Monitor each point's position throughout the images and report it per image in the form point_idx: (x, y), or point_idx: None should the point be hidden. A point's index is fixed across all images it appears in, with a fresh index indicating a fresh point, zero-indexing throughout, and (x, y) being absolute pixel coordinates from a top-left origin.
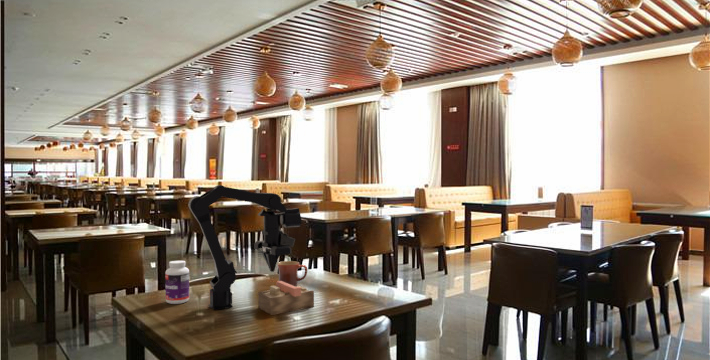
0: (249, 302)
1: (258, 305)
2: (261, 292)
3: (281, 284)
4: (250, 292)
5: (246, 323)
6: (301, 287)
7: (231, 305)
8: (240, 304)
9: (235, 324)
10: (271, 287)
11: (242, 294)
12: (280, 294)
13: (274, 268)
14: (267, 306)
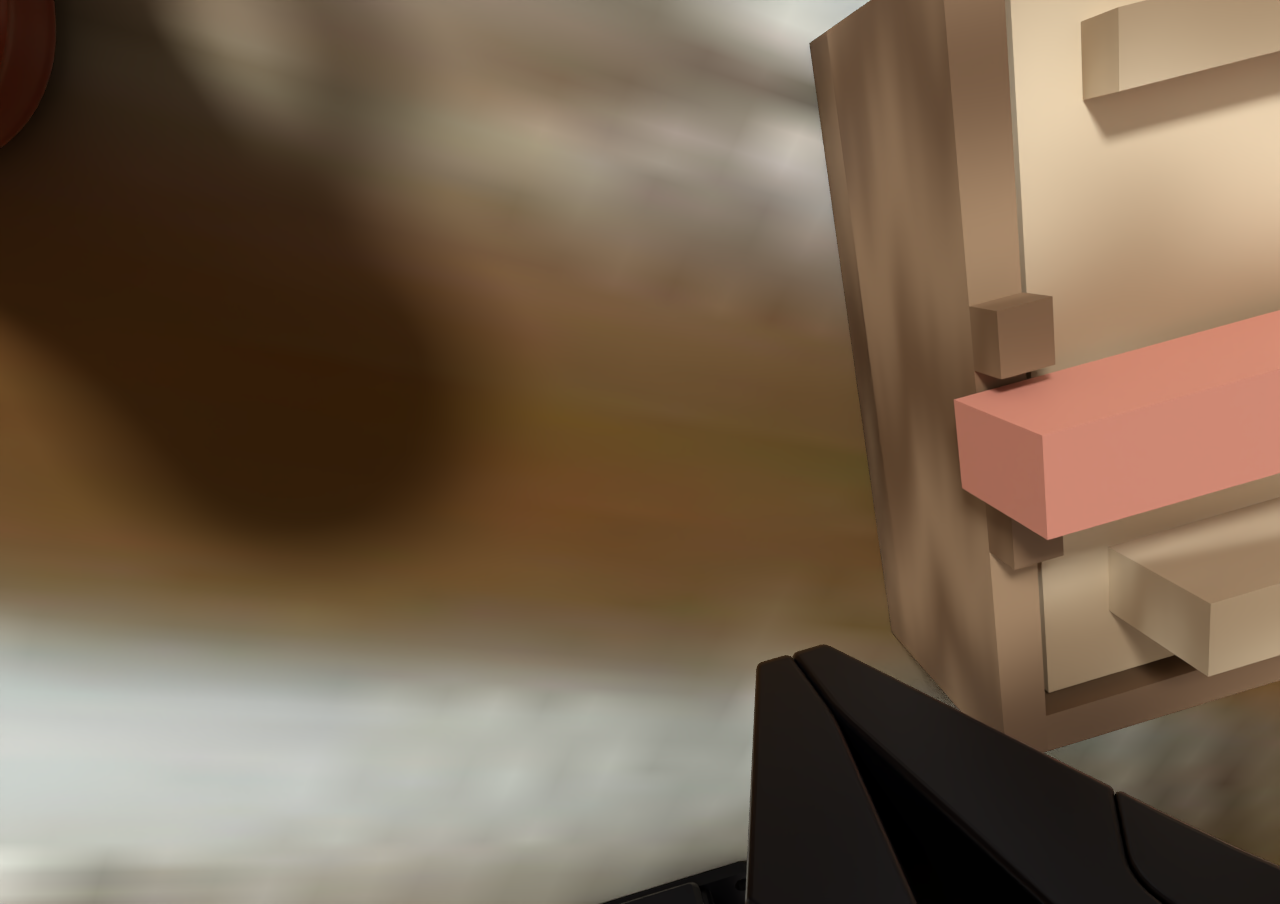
0: (610, 700)
1: (908, 647)
2: (1061, 726)
3: (1249, 469)
4: (50, 657)
5: (1276, 758)
6: (1271, 18)
7: (734, 881)
8: (655, 788)
9: (1244, 831)
10: (1262, 651)
11: (155, 757)
12: (1275, 478)
13: (890, 691)
14: None
